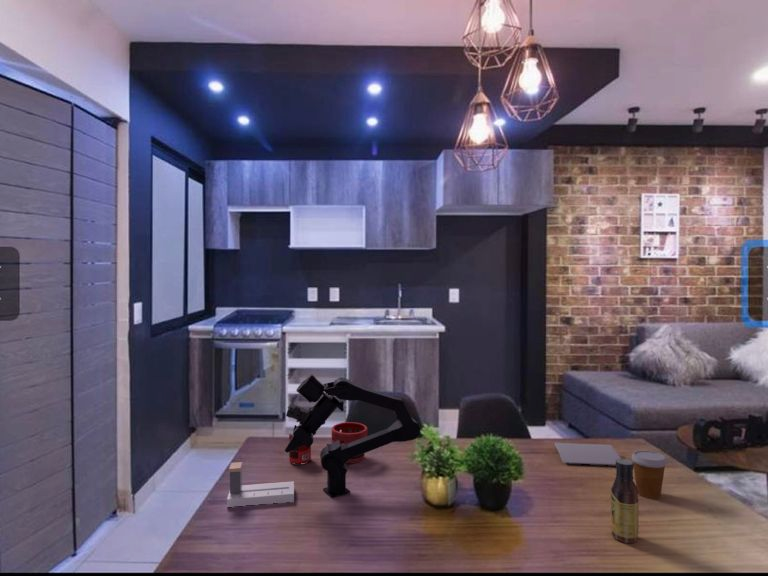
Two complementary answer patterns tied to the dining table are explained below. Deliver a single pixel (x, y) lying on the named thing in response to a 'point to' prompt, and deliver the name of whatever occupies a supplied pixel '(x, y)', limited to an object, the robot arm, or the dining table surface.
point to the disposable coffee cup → (649, 472)
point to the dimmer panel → (262, 494)
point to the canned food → (299, 453)
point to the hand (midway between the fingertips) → (285, 451)
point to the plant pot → (349, 435)
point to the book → (587, 454)
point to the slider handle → (235, 477)
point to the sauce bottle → (624, 503)
